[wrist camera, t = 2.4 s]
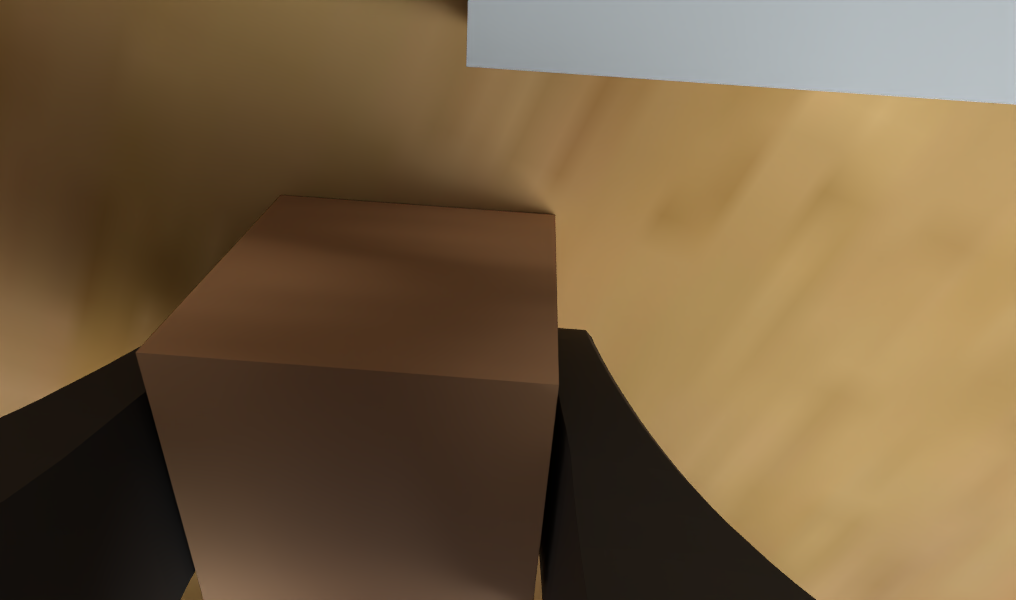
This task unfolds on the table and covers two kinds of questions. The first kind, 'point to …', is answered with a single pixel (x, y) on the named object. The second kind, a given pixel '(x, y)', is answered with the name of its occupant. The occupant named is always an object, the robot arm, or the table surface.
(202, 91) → the table surface
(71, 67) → the table surface
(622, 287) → the table surface
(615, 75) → the plinth
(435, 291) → the walnut block
